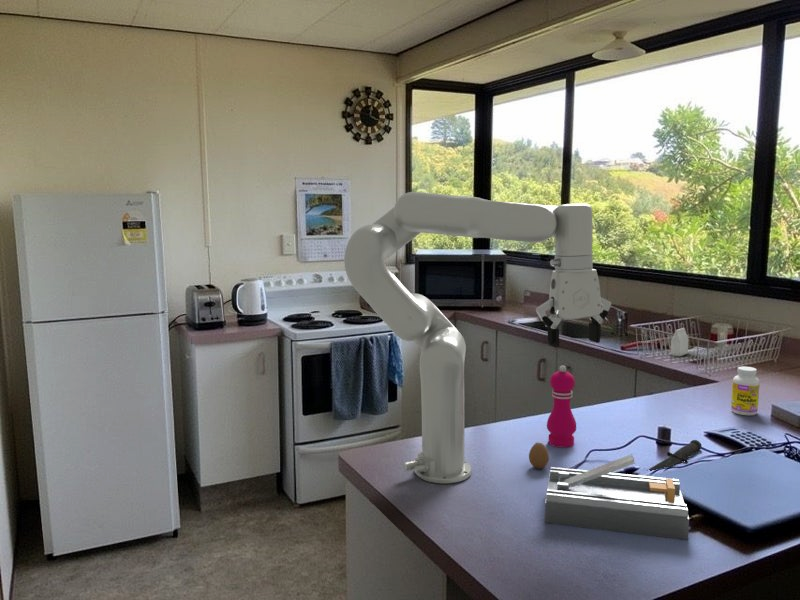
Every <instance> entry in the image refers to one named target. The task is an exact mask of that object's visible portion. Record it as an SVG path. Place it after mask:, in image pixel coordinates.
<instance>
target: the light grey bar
mask: <svg viewBox="0 0 800 600" xmlns="http://www.w3.org/2000/svg"><path fill="white" fill-rule="evenodd" d="M635 462H636V461H635V457H634V455H633V454H632V453H631V454H628V455H627V456H624V457H621V458H618V459H615V460H613V461H610V462H608V463H605V464H602V465H600V466H597V467H594V468H592V469H589V470H587V471H586V472H584V473H581V474H578V475H576V476H573V477H571V478H568V479H565V480H564V479H562V480H561V482H562V483H568V488H571V487H574V486H576V485H579V484H582V483H584V482H587V481H589V480H592V479H595V478H597V477H600V476H603V475H605V474H608V473H614V472H616V471H619V470H621V469H624V468H626V467H629V466H633V465H634V464H636V463H635Z"/></svg>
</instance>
